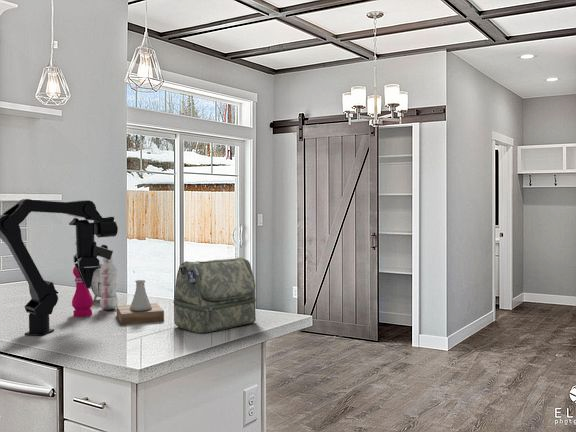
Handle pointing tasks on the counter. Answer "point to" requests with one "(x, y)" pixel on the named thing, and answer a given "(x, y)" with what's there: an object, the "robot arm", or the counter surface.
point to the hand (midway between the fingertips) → (86, 286)
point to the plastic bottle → (108, 285)
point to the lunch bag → (214, 295)
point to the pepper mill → (81, 298)
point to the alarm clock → (96, 282)
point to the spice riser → (140, 314)
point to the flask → (140, 298)
